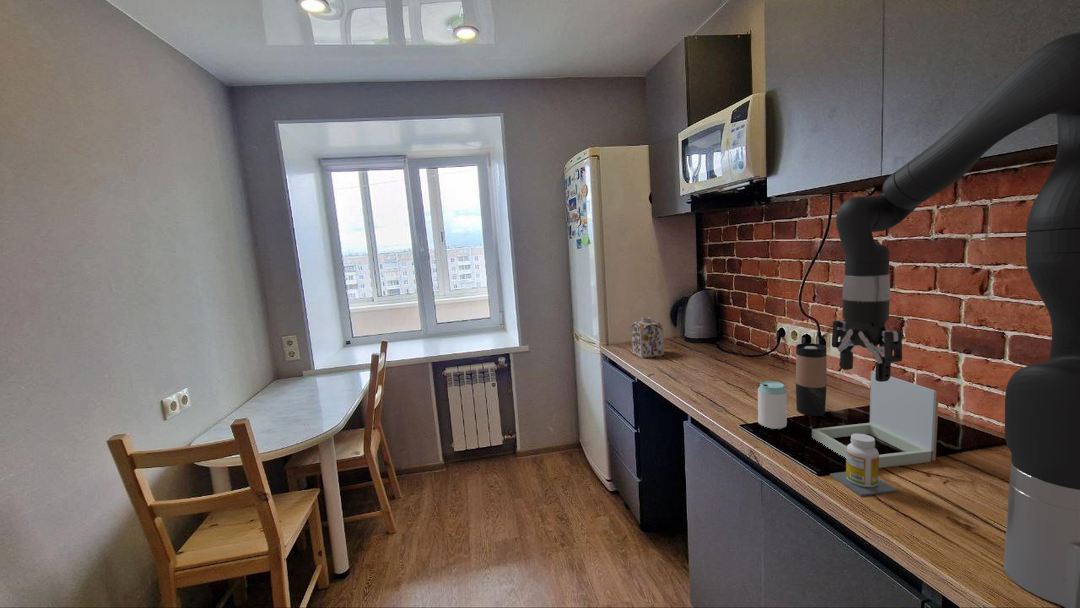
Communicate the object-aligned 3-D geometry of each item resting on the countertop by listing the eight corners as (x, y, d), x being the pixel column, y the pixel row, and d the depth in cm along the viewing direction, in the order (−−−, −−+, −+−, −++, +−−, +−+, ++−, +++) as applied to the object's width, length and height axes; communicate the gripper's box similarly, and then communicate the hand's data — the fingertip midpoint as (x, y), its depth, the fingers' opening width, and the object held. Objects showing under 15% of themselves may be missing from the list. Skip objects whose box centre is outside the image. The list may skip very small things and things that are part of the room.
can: (775, 432, 113) (775, 390, 112) (752, 424, 120) (752, 383, 118) (792, 426, 116) (792, 384, 115) (769, 418, 123) (768, 378, 121)
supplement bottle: (870, 475, 90) (872, 432, 89) (883, 489, 85) (884, 444, 84) (841, 473, 92) (842, 431, 91) (852, 486, 87) (853, 442, 85)
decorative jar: (631, 353, 208) (630, 317, 205) (653, 350, 210) (652, 314, 207) (641, 358, 196) (640, 320, 194) (665, 355, 198) (663, 318, 196)
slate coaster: (897, 491, 85) (897, 489, 85) (860, 496, 84) (860, 494, 84) (863, 471, 93) (863, 469, 93) (829, 475, 92) (829, 473, 92)
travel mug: (828, 409, 125) (828, 344, 123) (823, 418, 120) (824, 350, 117) (798, 405, 131) (798, 342, 128) (793, 413, 125) (793, 347, 122)
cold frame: (936, 461, 94) (939, 390, 92) (864, 469, 93) (865, 398, 91) (874, 431, 110) (876, 370, 108) (811, 438, 109) (812, 376, 107)
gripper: (917, 299, 78) (913, 383, 80) (853, 292, 92) (851, 364, 94) (879, 302, 77) (876, 387, 79) (821, 295, 91) (820, 367, 93)
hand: (863, 374), depth 87 cm, fingers open, 8 cm apart
